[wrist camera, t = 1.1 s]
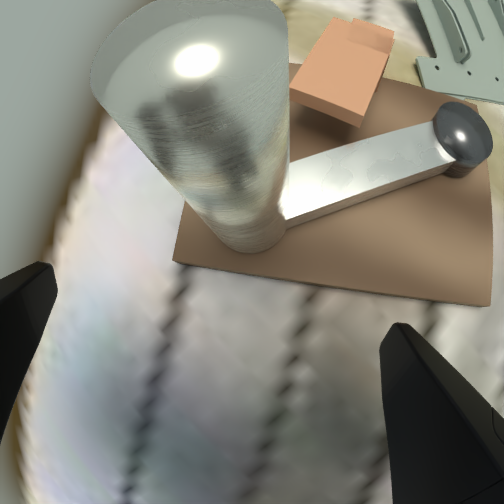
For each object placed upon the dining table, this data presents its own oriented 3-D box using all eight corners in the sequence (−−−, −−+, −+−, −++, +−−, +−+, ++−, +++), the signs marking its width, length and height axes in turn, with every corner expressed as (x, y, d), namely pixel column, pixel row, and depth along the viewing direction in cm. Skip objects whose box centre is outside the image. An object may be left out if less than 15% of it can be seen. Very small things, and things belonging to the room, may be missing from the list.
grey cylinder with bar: (454, 117, 15) (538, -10, 4) (484, 168, 14) (598, 60, 4) (204, 196, 16) (89, 31, 5) (227, 264, 15) (96, 156, 4)
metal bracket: (383, -51, 14) (517, -9, 13) (369, -12, 20) (492, 15, 18) (440, 100, 15) (569, 126, 14) (407, 124, 21) (531, 137, 20)
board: (480, 307, 14) (490, 306, 13) (178, 263, 17) (172, 260, 16) (470, 112, 16) (476, 105, 15) (226, 69, 19) (224, 59, 18)
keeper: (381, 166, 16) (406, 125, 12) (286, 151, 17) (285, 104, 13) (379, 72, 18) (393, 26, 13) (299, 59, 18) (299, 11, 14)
